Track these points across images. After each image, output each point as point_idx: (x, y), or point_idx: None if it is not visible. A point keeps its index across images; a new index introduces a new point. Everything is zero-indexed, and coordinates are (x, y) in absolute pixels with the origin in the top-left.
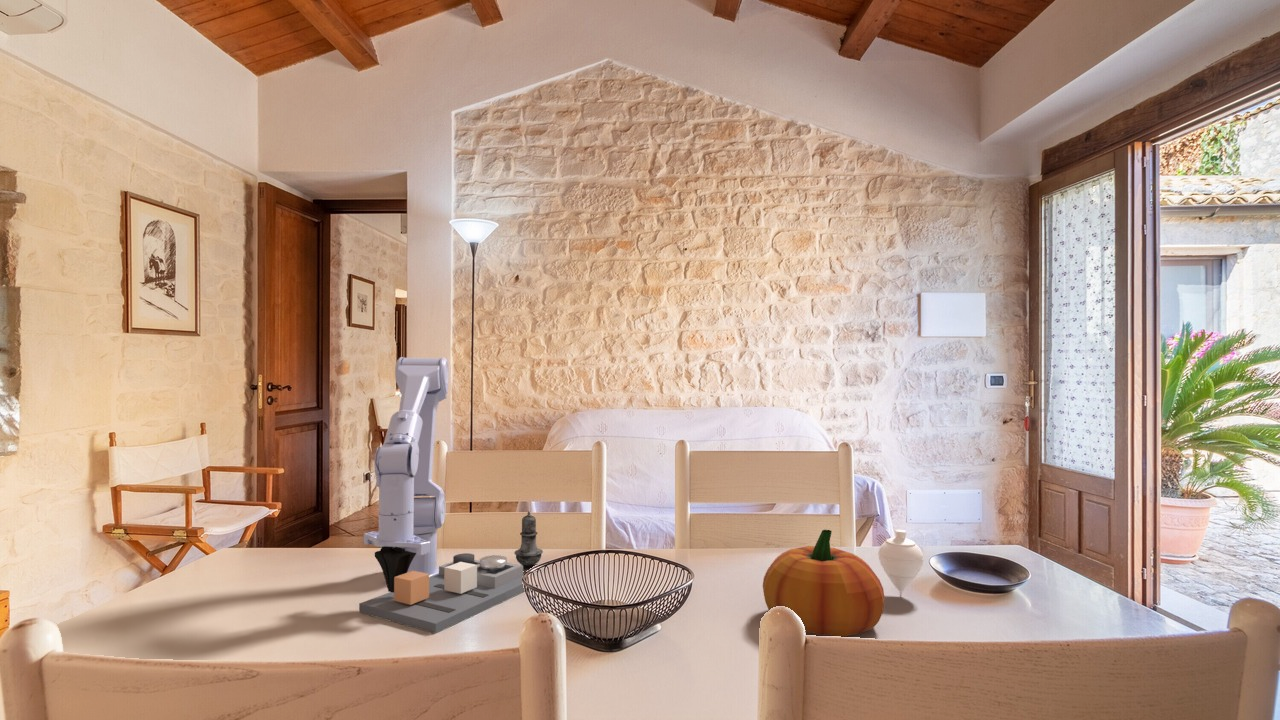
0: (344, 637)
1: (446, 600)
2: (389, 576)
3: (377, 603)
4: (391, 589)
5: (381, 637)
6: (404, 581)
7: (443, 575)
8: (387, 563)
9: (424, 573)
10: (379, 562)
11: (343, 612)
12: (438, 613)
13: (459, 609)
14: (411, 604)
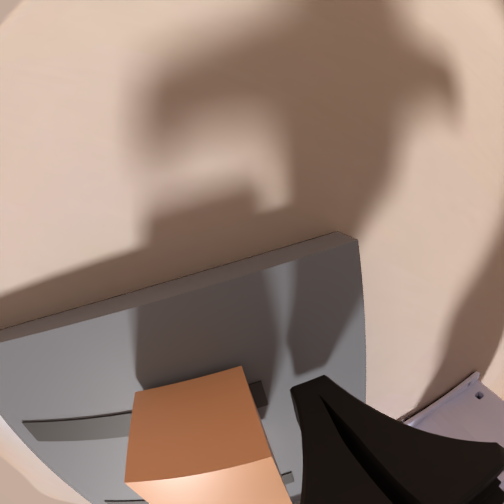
0: (109, 74)
1: None
2: (332, 433)
3: (294, 303)
4: (303, 391)
5: (11, 193)
6: (175, 467)
7: None
8: (368, 495)
9: None
10: (444, 443)
11: (381, 188)
12: (25, 404)
13: (38, 445)
14: None
